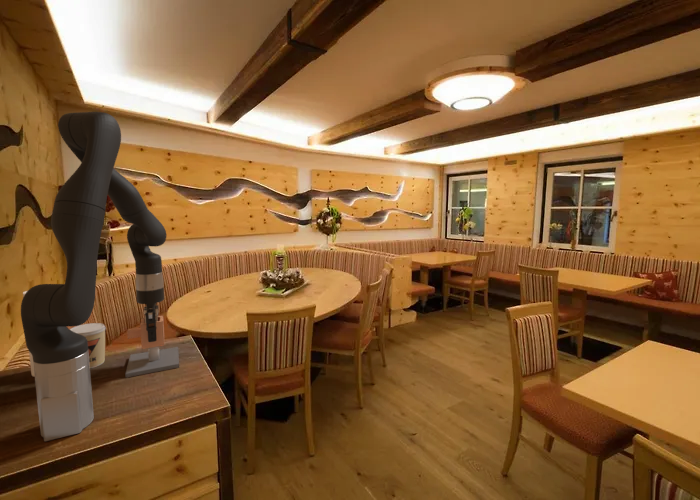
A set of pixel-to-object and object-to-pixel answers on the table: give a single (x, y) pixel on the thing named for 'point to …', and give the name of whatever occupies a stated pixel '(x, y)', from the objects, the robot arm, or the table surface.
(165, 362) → the base
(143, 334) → the orange hollow box
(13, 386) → the table surface
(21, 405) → the table surface
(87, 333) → the coffee cup
